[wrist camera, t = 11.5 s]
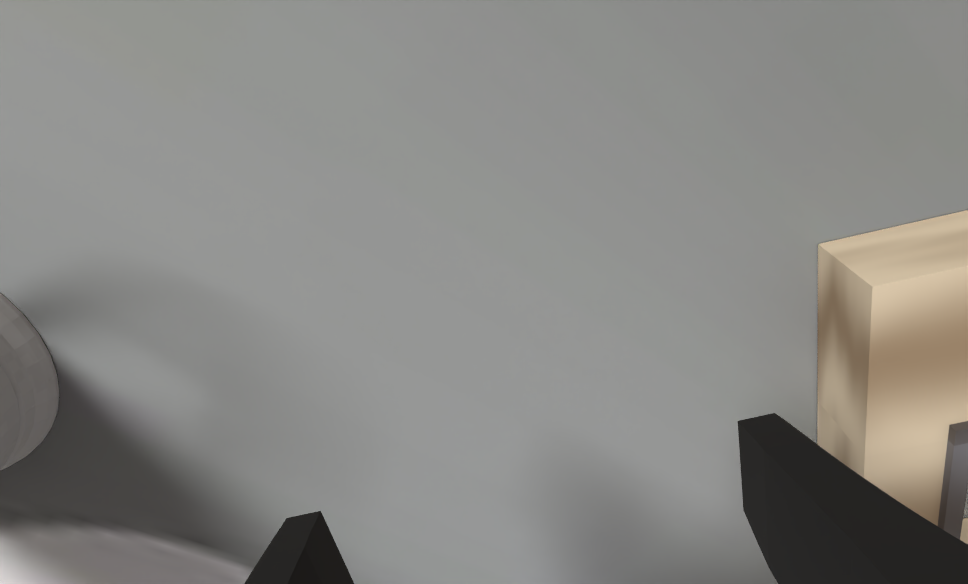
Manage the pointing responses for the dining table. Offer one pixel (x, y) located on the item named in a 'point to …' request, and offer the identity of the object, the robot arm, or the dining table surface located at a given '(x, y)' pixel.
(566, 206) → the dining table surface
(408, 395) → the dining table surface
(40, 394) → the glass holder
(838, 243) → the socket plate
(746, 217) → the dining table surface
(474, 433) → the dining table surface
